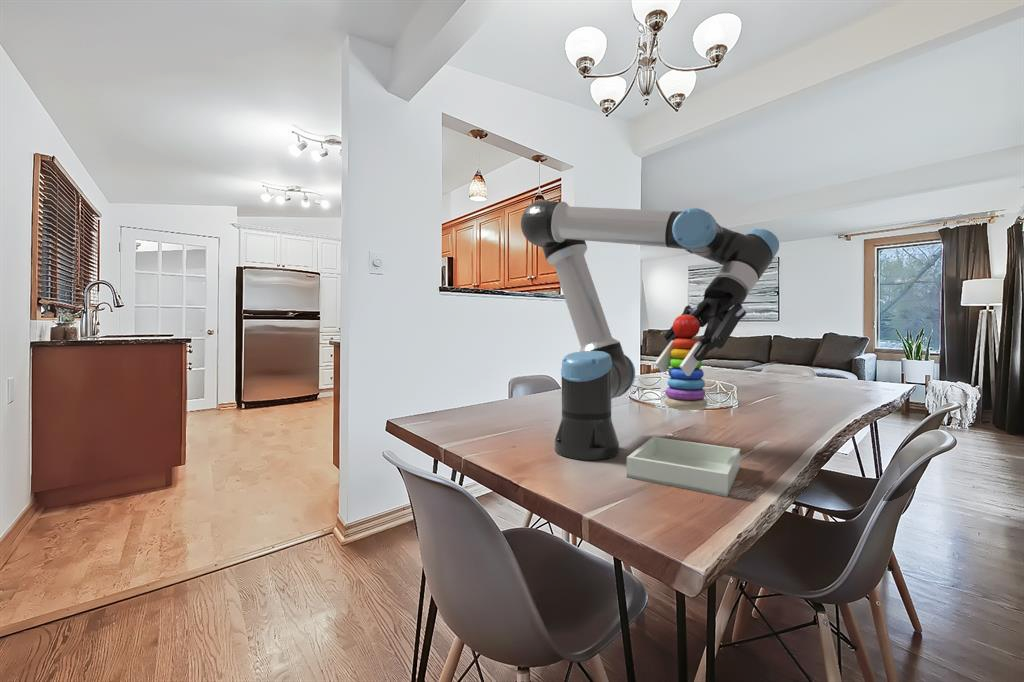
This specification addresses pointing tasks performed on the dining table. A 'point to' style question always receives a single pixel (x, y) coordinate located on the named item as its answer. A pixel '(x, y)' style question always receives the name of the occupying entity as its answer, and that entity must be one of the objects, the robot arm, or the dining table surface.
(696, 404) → the stacking toy
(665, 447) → the tray
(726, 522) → the dining table surface
